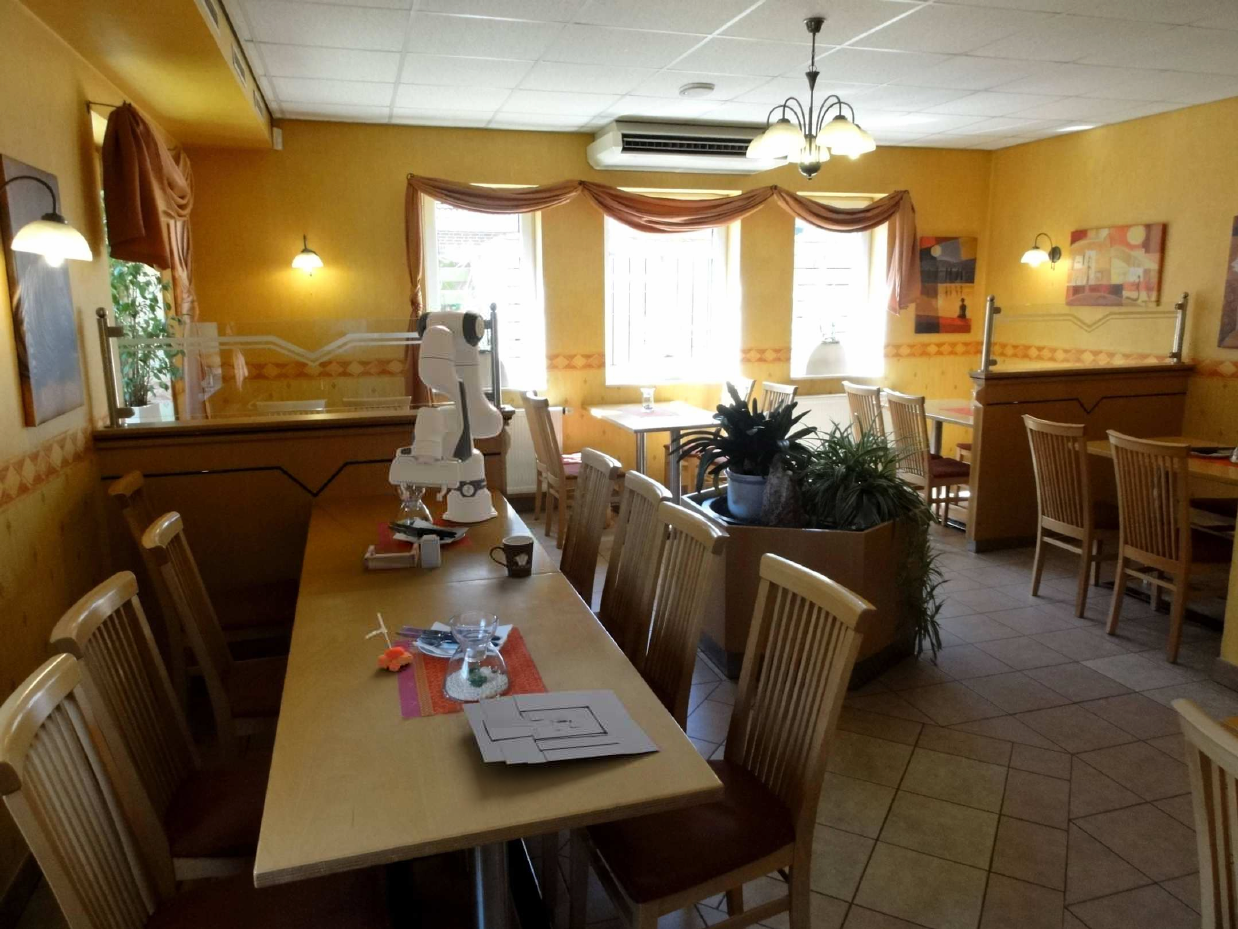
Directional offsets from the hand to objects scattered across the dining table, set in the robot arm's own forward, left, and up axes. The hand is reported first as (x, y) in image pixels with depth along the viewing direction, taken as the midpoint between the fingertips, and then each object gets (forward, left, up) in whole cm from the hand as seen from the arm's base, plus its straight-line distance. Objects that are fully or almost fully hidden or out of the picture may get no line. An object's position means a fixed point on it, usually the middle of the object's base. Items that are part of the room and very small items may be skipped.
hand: (422, 499), depth 243 cm
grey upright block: (+6, +2, -18) cm, 19 cm away
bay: (0, -10, -18) cm, 21 cm away
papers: (+105, +31, -19) cm, 111 cm away
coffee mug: (+18, +25, -18) cm, 36 cm away
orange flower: (+72, -2, -18) cm, 75 cm away
